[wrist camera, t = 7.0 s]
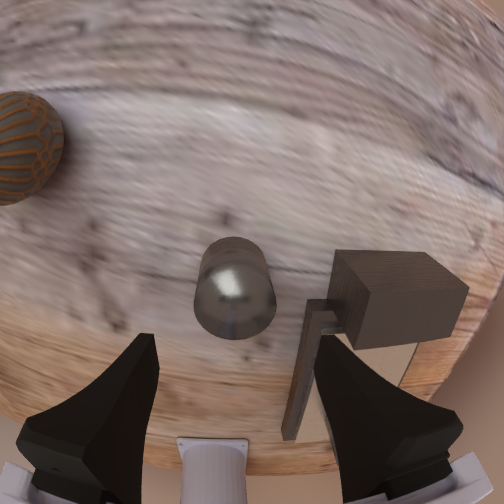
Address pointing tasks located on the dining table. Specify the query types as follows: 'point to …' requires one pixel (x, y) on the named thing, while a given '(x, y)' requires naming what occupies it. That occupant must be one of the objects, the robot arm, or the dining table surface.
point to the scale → (371, 323)
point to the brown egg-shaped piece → (27, 145)
